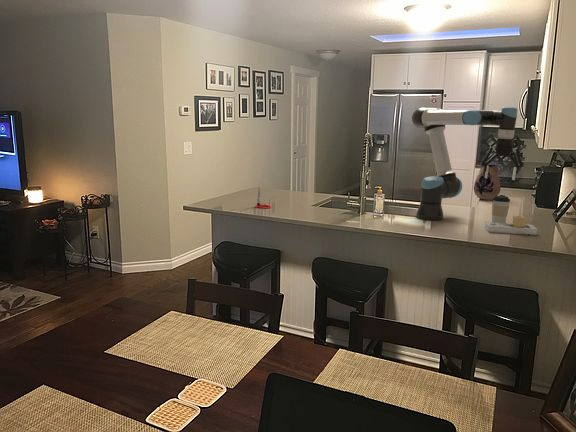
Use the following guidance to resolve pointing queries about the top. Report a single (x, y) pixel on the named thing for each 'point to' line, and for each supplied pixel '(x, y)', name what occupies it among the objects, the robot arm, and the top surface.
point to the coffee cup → (500, 209)
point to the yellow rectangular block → (518, 221)
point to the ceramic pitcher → (487, 183)
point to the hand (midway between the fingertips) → (499, 178)
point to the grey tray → (510, 228)
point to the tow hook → (260, 204)
